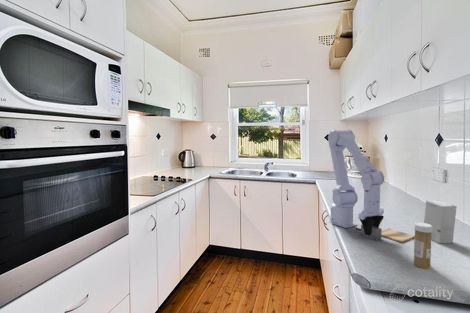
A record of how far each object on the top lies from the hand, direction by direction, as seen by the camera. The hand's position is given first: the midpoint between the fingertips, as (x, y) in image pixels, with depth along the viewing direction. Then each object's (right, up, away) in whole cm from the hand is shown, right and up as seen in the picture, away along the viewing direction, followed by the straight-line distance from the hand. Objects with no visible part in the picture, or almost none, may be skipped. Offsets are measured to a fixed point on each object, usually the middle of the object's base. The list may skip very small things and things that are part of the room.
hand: (370, 233), depth 105 cm
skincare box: (+25, -2, -4) cm, 25 cm away
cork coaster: (+10, -1, +1) cm, 10 cm away
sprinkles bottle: (+4, -4, -23) cm, 24 cm away
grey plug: (-1, -1, +1) cm, 2 cm away
